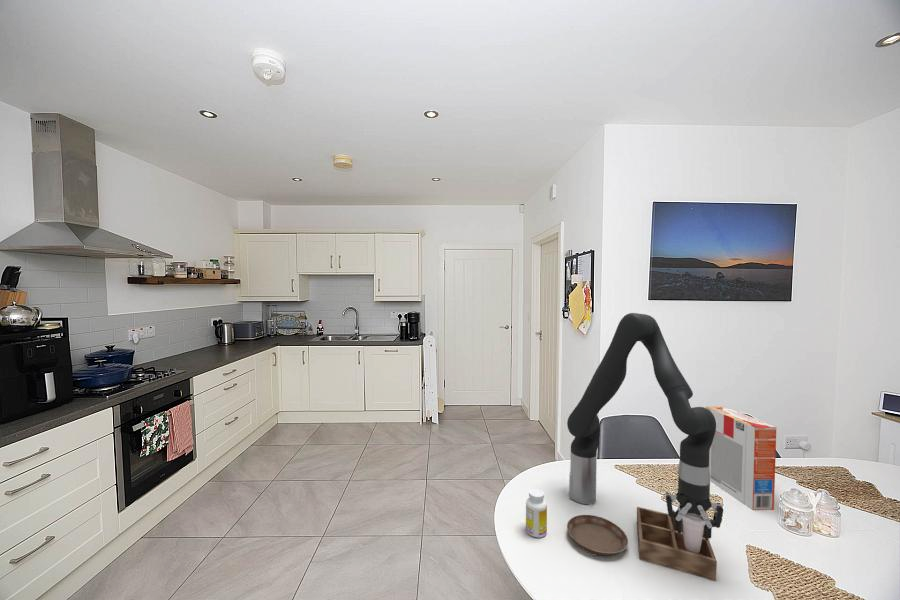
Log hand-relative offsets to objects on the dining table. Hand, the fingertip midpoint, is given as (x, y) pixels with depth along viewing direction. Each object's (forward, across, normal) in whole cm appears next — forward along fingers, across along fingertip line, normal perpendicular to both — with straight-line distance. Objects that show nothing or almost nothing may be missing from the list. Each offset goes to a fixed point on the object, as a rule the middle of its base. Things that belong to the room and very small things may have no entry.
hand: (692, 534), depth 104 cm
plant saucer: (+9, -25, -2) cm, 27 cm away
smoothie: (+4, 0, 0) cm, 4 cm away
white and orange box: (+9, +23, +51) cm, 57 cm away
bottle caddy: (+8, -4, +4) cm, 10 cm away
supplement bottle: (+8, -44, -6) cm, 45 cm away
